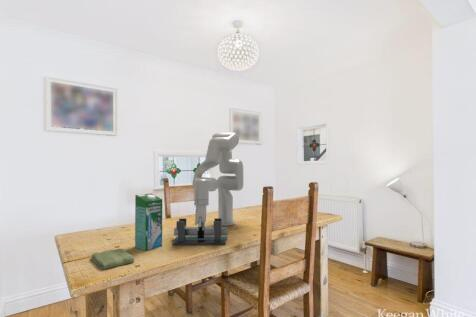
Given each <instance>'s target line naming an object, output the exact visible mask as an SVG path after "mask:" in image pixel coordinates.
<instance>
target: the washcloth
mask: <svg viewBox="0 0 476 317" xmlns="http://www.w3.org/2000/svg"><path fill="white" fill-rule="evenodd" d="M90 260H91V261H92V262H93V263H95V265H96V266H98V267H99V268H100V269H102V270H108V269H111V268H117V267H119V266H123V265H124V266H125V265H128V264H133V263H134V262H135V257H134V256H133V255H132V254H130V253H128V252H127V251H125V250H124V249H123V248H116V249H108V250H104V251H101V252H94V253H92V254H91V257H90Z"/></svg>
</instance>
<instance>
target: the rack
mask: <svg viewBox="0 0 476 317" xmlns="http://www.w3.org/2000/svg"><path fill="white" fill-rule="evenodd" d="M185 227H187V218H179V219H178V220H177V221H176V229H178V240H173V241H172V242H171V244H172V246H226V244H227V243H226V240H221V236H222V235H221V227H223V226H222V218H218V217H217V218H215V217H214V220H213V227H214V240H185Z"/></svg>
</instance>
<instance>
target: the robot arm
mask: <svg viewBox="0 0 476 317" xmlns="http://www.w3.org/2000/svg"><path fill="white" fill-rule="evenodd" d="M239 142H240V137H239V134H238V133H236V132H218V133H217V132H216V133H214V134H213V135H212V137H211V139H210V140H209V142H208V145H207V150H206V154H205V159H204V160H203V161H202V162H200V164H199V165H198V166H197V168H196V169H195V171H194V173H193V178H192V188H193V190H194V193H193V195H194V198H193V199H194V200H193V203H194V204H193V206H195V216H194V217H195V219H194V220H195V221H194V225H195V226H197V227H198V238H204V230H203V229H204V227H205V226H206V225H205V224H206V221H207V206H209V204H210V202H209V192H215V191H217V192H218V194H217V196H218V200H217V201H218V203H217V204H218V206H217V207H218V208H217V209H218V212H217V214H218V216H217V218H222V226H221V227H228V226H229V227H230V226H234V225H235V224H236V222H235V220H233V217H234V215H233V213H234V206H233V205H234V203H233V202H234V199H233V194H232V193H231V191H234V192H235V191H237V192H239V191H241V190H243V188H244V164H243V161H242V160H241V159H237V158H236V159H233V154H232V153H233V152H232V151H233V150H234V149H235V148H236V147H237V146H238V144H239ZM216 166H217V167H218V169H219V172H220V174H224V175H221V176H219V177H218V178H217V179H216V178H215V177H202V176H203V174H204V173H206V172H207V171H208V170H210V169H213V168H215V167H216ZM225 174H226V175H225ZM227 174H228V175H227ZM231 174H232V175H231Z"/></svg>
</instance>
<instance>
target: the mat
mask: <svg viewBox="0 0 476 317" xmlns="http://www.w3.org/2000/svg"><path fill="white" fill-rule="evenodd" d="M174 240H178V236H176V237H175V238H174ZM174 240H173V241H174ZM185 240H214V236H204V238H198V236H185ZM221 240H226V241H228V235H221Z"/></svg>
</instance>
